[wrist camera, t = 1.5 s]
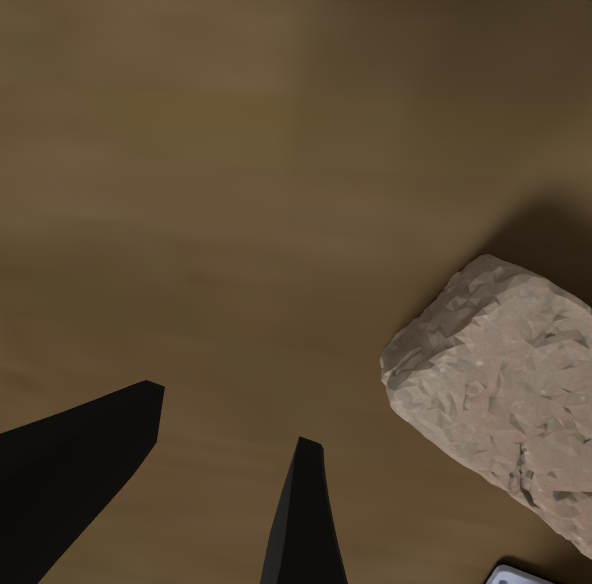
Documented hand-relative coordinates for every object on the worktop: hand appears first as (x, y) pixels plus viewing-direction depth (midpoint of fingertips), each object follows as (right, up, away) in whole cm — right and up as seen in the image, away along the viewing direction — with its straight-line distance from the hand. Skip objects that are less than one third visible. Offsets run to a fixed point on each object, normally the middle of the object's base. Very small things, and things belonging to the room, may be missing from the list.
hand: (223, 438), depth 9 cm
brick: (+15, -1, +8) cm, 17 cm away
